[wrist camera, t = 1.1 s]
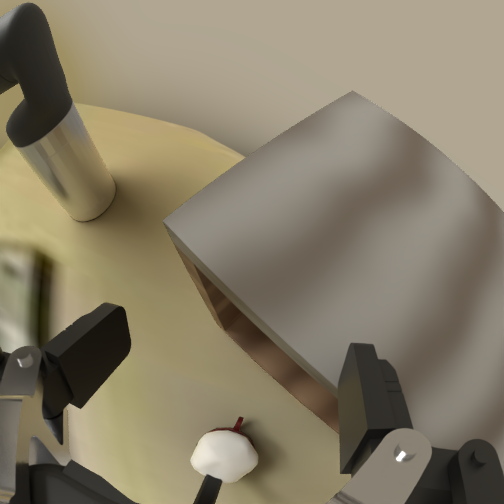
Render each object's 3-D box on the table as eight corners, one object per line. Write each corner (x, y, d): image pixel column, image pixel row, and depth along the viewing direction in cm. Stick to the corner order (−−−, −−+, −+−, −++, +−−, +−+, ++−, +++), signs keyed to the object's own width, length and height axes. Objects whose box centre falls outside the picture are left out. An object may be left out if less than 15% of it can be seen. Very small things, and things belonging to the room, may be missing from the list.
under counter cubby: (216, 323, 32) (162, 220, 11) (301, 241, 37) (352, 90, 16) (355, 446, 26) (490, 506, 5) (424, 353, 30) (566, 304, 9)
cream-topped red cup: (233, 407, 28) (227, 416, 18) (274, 441, 27) (289, 467, 16) (177, 456, 25) (143, 485, 15) (216, 490, 23) (202, 534, 13)
